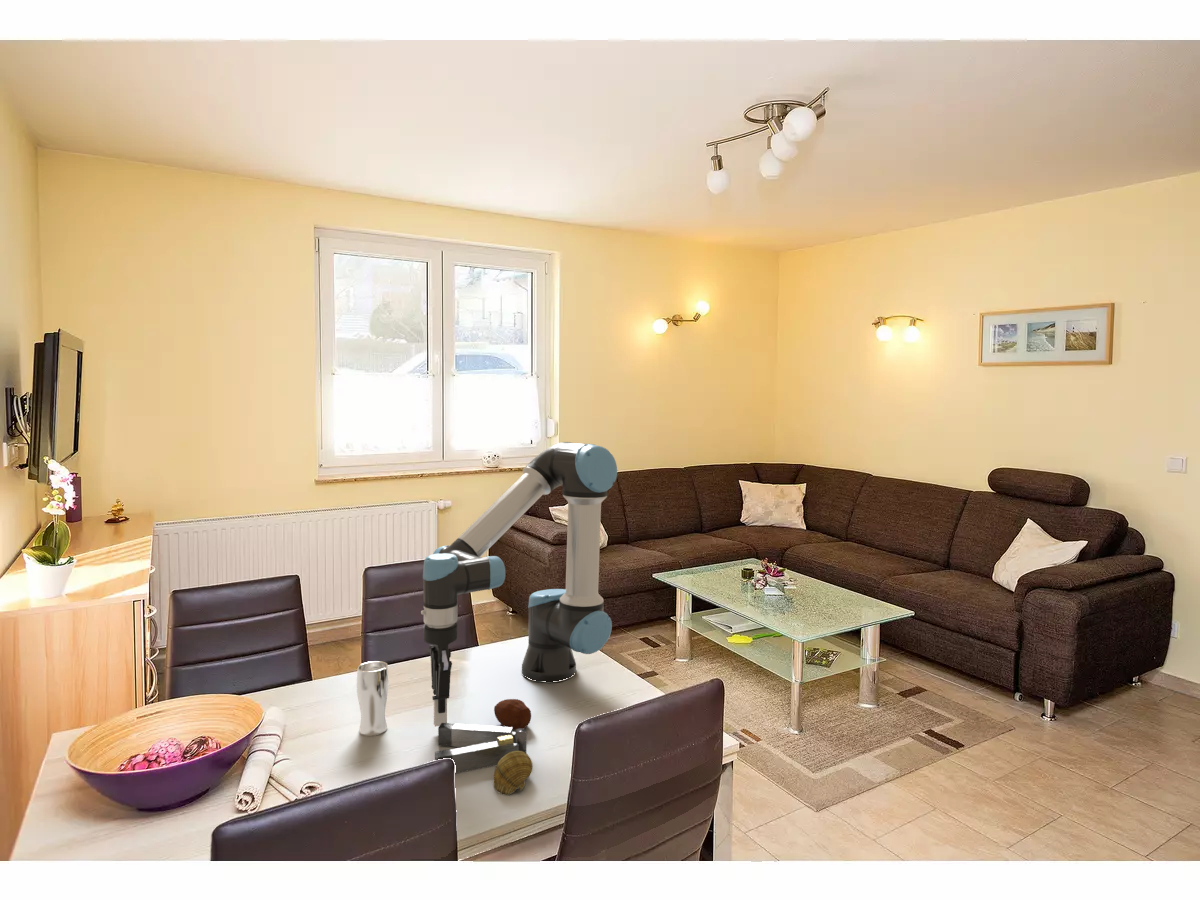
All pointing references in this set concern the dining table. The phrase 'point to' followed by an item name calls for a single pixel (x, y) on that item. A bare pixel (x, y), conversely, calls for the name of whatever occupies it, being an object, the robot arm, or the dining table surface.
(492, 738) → the tong jaw
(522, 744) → the tongs base
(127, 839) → the dining table surface
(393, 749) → the dining table surface
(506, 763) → the seashell
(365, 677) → the beer glass
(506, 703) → the potato
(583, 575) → the robot arm
